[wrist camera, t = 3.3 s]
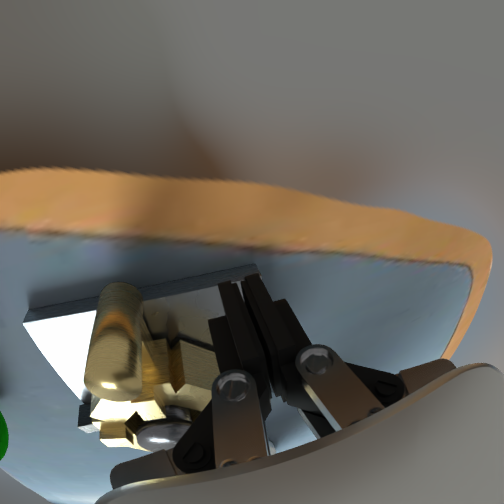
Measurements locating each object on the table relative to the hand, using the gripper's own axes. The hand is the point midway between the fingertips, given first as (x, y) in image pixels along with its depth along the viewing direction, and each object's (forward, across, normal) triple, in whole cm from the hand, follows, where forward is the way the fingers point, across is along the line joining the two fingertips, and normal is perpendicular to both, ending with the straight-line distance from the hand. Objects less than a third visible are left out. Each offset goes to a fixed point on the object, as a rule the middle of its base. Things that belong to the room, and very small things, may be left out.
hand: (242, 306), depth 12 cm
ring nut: (+2, +6, +5) cm, 8 cm away
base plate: (+4, +6, +7) cm, 10 cm away
